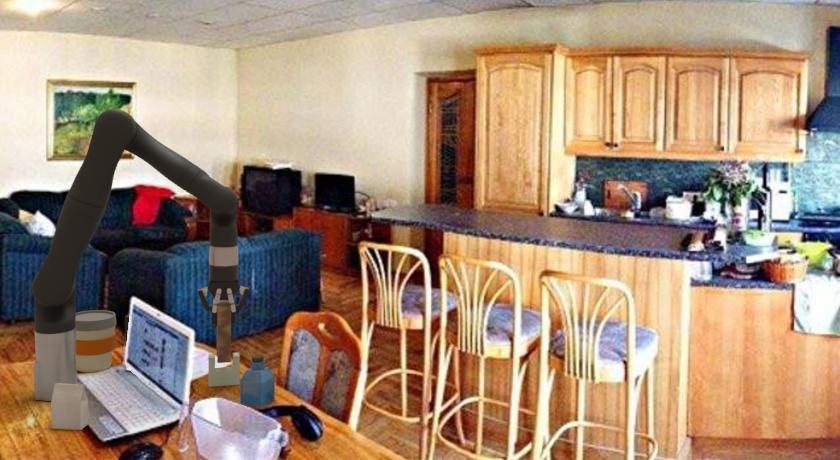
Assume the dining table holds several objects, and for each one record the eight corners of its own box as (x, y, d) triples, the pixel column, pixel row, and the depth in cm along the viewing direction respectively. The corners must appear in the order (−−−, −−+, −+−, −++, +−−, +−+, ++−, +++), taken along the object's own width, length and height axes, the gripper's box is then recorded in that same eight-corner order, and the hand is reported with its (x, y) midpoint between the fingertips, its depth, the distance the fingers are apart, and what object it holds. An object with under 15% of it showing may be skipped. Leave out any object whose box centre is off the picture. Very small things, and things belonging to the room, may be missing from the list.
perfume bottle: (274, 399, 187) (274, 354, 185) (261, 407, 181) (262, 361, 179) (253, 395, 189) (253, 351, 187) (240, 403, 183) (240, 357, 181)
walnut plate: (217, 363, 191) (217, 307, 189) (216, 353, 198) (216, 300, 196) (230, 362, 192) (231, 307, 190) (229, 353, 199) (229, 300, 197)
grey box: (80, 430, 164) (79, 387, 162) (51, 428, 164) (50, 386, 163) (88, 423, 167) (87, 382, 166) (60, 422, 168) (58, 380, 166)
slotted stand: (208, 386, 193) (208, 358, 192) (208, 382, 197) (208, 354, 195) (239, 384, 196) (239, 356, 195) (238, 380, 199) (238, 352, 198)
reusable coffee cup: (86, 358, 212) (84, 308, 210) (126, 361, 211) (125, 311, 209) (59, 372, 200) (57, 319, 198) (101, 375, 198) (100, 323, 196)
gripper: (196, 265, 186) (196, 330, 188) (252, 264, 190) (251, 327, 192) (195, 260, 193) (196, 322, 195) (249, 259, 197) (249, 320, 200)
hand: (223, 324), depth 194 cm, fingers closed on walnut plate, 3 cm apart
